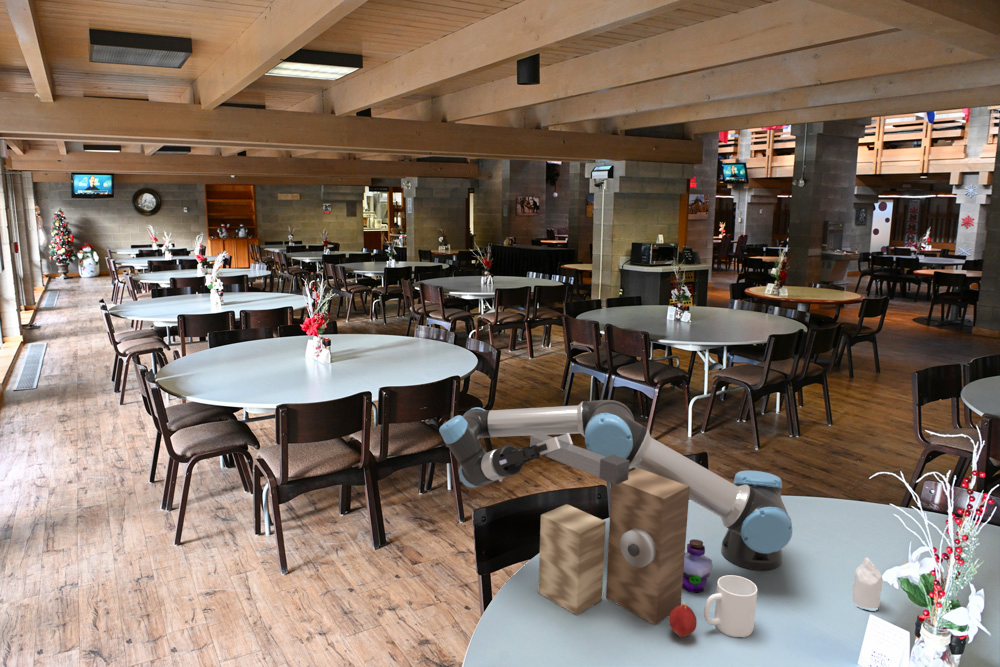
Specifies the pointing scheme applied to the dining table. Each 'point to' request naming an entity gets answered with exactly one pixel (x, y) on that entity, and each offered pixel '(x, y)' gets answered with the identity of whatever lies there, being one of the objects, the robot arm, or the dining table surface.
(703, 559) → the potion bottle
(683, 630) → the onion
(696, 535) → the dining table surface
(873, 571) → the beige pointed piece
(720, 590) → the cup
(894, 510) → the dining table surface
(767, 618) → the dining table surface
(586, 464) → the grey long bar
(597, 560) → the oak block
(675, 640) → the dining table surface
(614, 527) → the post
